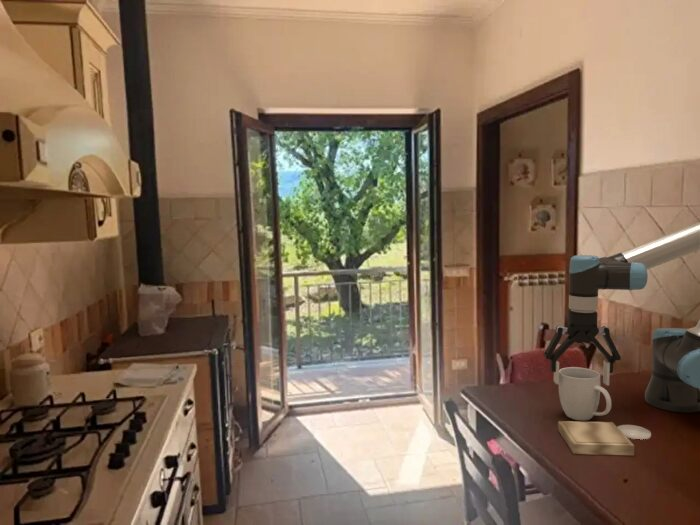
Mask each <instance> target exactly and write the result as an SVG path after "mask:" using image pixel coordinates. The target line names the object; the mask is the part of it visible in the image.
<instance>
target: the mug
mask: <svg viewBox="0 0 700 525" xmlns="http://www.w3.org/2000/svg"><path fill="white" fill-rule="evenodd" d="M601 393H602V395H603V396H604V398H605V403H606V406H605V410H604V411H602V412H601V411H598V407H599V404H600V397H601ZM558 396H559V401H560V406H561V408H562V410H563V412H564V414H565V415H566V417H567V418H569V419H572V420H575V421H578V422H587V421H589V420H591V419H593V417H594V416H597V417H598V416H599V417H600V416H606V415H607V414H609V413H610V411H611V409H612V398H611V395H610V393H609V392H608V390H606V388H604V387H603V386H601V374H600V372H598V371H596V370H593V369H591V368H586V367H585V368H584V367H580V366H579V367H578V366H570V367H563V368H559V384H558Z"/></svg>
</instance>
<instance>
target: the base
mask: <svg viewBox="0 0 700 525" xmlns="http://www.w3.org/2000/svg"><path fill="white" fill-rule="evenodd" d="M617 427H618V425H616V424H615V423H614V422H613V421H570V420H568V421H567V420H566V421H565V420H564V421H563V420H559V421H558V422H557V429H558V430H557V431H558V432H559V433H560V435H561V437H562V438H563V440H564V441H565V443H566V445H567V446H568V448H569V450H570V451H571V453H572V454H573V455H597V456H598V455H599V456H604V455H605V456H607V455H608V456H635V445H634V443H633V442H632V441H631V439H630V438H627V437H626V436H625V435H624V434H623V433H622V432H621V431H620V430H619V429H618V428H617Z"/></svg>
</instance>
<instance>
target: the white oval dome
mask: <svg viewBox="0 0 700 525" xmlns="http://www.w3.org/2000/svg"><path fill="white" fill-rule="evenodd" d="M617 428H618V429H619V430H620V431H621V432H622V433H623V434H624V435H625V436H626V437H627V438H628V439H630V438H631V439H630V440H635V439H640V441H646V440H650V438H651V437H652V432H651V430H649V429H647V428H645V427H643V426H639V425H634V424H621V425H617ZM643 439H644V440H643ZM645 439H646V440H645Z"/></svg>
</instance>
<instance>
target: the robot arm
mask: <svg viewBox="0 0 700 525" xmlns="http://www.w3.org/2000/svg"><path fill="white" fill-rule="evenodd" d="M699 251H700V221H699V222H696V223H693V224H690V225H688V226H685V227H683V228H680V229H677V230H675V231H673V232H669V233H668V234H665V235H662V236H660V237H657V238H655V239H652V240H650V241H647V242H644V243H641V244H639V245H635V246H634V247H631V248H628V249H625V250H624V251H620V252H618V253H615V254H613V255H611V256H603V257H598V256H597V255H591V254H589V255H587V254H585V255H584V254H581V255H580V254H578V255H573V256H572V257H570V261H569V268H568V269H569V270H568V274H569V276H568V277H569V278H568V283H569V284H568V285H569V286H568V288H569V289H568V290H569V291H568V292H569V293H568V309H569V310H568V315H567V316H568V317H567V318H568V321H567V326H566V327H565V326H560V325H556V327H555V333H554V335H553V336H552V338H551V340H550V342H549V343H548V345H547V347H546V349H545V351H544V353H543V356H544V358H545V359H547V360H549V361H550V364H549V366H550V368H549V369H550V371H551V372H552V373H553V382H554V384H555V385H559V370H560V361H559V360H558V359H559V358H561V356H562V355H563V354H564V353H565V352H566V351H568V349H569V348H570V347H571V346H572V345H573V344H574V343H577V344H582V343H584V344H589V343H592V344H593V345H594V346H595V347H596V349H597V350H598V351H599V352H600V353H601V354H602V356H603V357H604V358H605V359H603V369H602V370H603V374H602V382H603V384H604V385H605V386H610V374H613V373H614V364H615V363H616V361H620V360H621V359H622V357H621V355H620V354H619V351H618V350H617V348H616V346H615V343H614V342H613V339H612V337H611V335H610V334H611V333H610V328H608V327H607V326H605V325H602V327H598V315H599V314H598V311H597V310H599V306H598V305H599V290H602V291H604V290H616V291H617V290H618V291H619V290H621V291H626V290H627V291H633V290H634V291H635V290H636V291H637V290H644V288H646V286H647V284H648V270H650V269H653V268H655V267H658V266H660V265H663V264H665V263H668V262H671V261H674V260H677V259H680V258H682V257H684V256H688V255H690V254H693V253H696V252H699ZM565 333H567V334H568V335H567V337H566V338H565V339H564V341H563V342H562V343H561V344H560V345H558V344H559V343H560V341H561V339H562V336H563V335H565ZM598 334H600V335H601V336H602V337H603V339H604V341H605V343H606V345H607V347H608V349H609V351H610V353H611V354H610V353H609V352H608V350H607V349H606V348H605V347H604V346H603V345H602V344H601V343H600V341H599V340H598V339H597V338H596V336H597V335H598ZM651 341H652V342H651V345H652V347H651V348H652V349H651V350H652V351H651V377H650V380H649V381H648V385H647V387H646V389H645V392H644V401H645V402H646V403H647V404H648V405H650V406H652V407H654V408H658V409H660V410H663V411H669V412H676V413H687V414H689V413H698V412H700V319H699V320H698V322H697V323H696V325H695V326H693V327H691V328H683V327H680V328H679V327H678V328H677V327H660V328H656V329H654V330H653V331H652V338H651ZM557 346H558V347H557Z"/></svg>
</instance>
